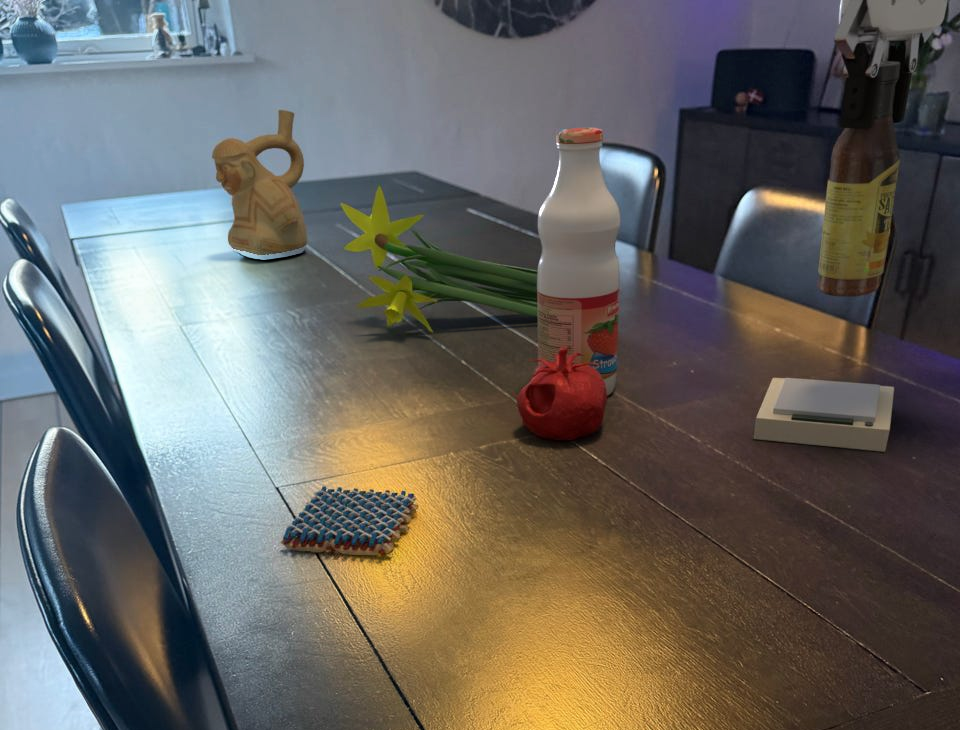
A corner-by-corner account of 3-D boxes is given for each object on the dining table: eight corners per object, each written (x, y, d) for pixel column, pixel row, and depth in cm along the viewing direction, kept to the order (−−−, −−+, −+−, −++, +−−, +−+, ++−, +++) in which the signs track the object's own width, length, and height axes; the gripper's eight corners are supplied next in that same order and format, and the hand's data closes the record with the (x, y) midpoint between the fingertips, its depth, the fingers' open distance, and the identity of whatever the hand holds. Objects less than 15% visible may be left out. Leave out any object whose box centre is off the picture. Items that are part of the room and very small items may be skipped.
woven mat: (424, 507, 88) (422, 488, 87) (390, 562, 80) (387, 541, 79) (321, 501, 90) (318, 482, 89) (278, 554, 82) (274, 533, 81)
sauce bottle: (880, 299, 92) (916, 65, 80) (814, 299, 94) (839, 71, 82) (880, 280, 96) (914, 56, 85) (817, 280, 98) (841, 61, 87)
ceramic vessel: (211, 258, 187) (183, 117, 173) (292, 241, 198) (272, 106, 184) (255, 270, 177) (229, 120, 162) (339, 251, 187) (321, 109, 173)
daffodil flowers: (570, 345, 131) (322, 291, 125) (547, 371, 145) (323, 323, 140) (590, 227, 130) (342, 167, 125) (565, 264, 145) (342, 212, 139)
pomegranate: (593, 409, 107) (595, 328, 102) (618, 441, 99) (621, 354, 94) (509, 418, 106) (507, 336, 101) (528, 451, 98) (526, 364, 93)
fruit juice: (545, 376, 118) (542, 126, 102) (619, 378, 116) (628, 123, 100) (532, 402, 110) (527, 136, 94) (611, 405, 108) (620, 133, 92)
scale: (770, 397, 108) (773, 372, 106) (890, 407, 103) (895, 381, 102) (753, 439, 98) (756, 412, 96) (885, 452, 94) (891, 423, 92)
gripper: (898, -139, 69) (855, 137, 79) (1009, -133, 77) (957, 117, 88) (811, -126, 74) (781, 133, 84) (924, -121, 82) (884, 114, 93)
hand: (871, 122), depth 86 cm, fingers closed on sauce bottle, 4 cm apart
